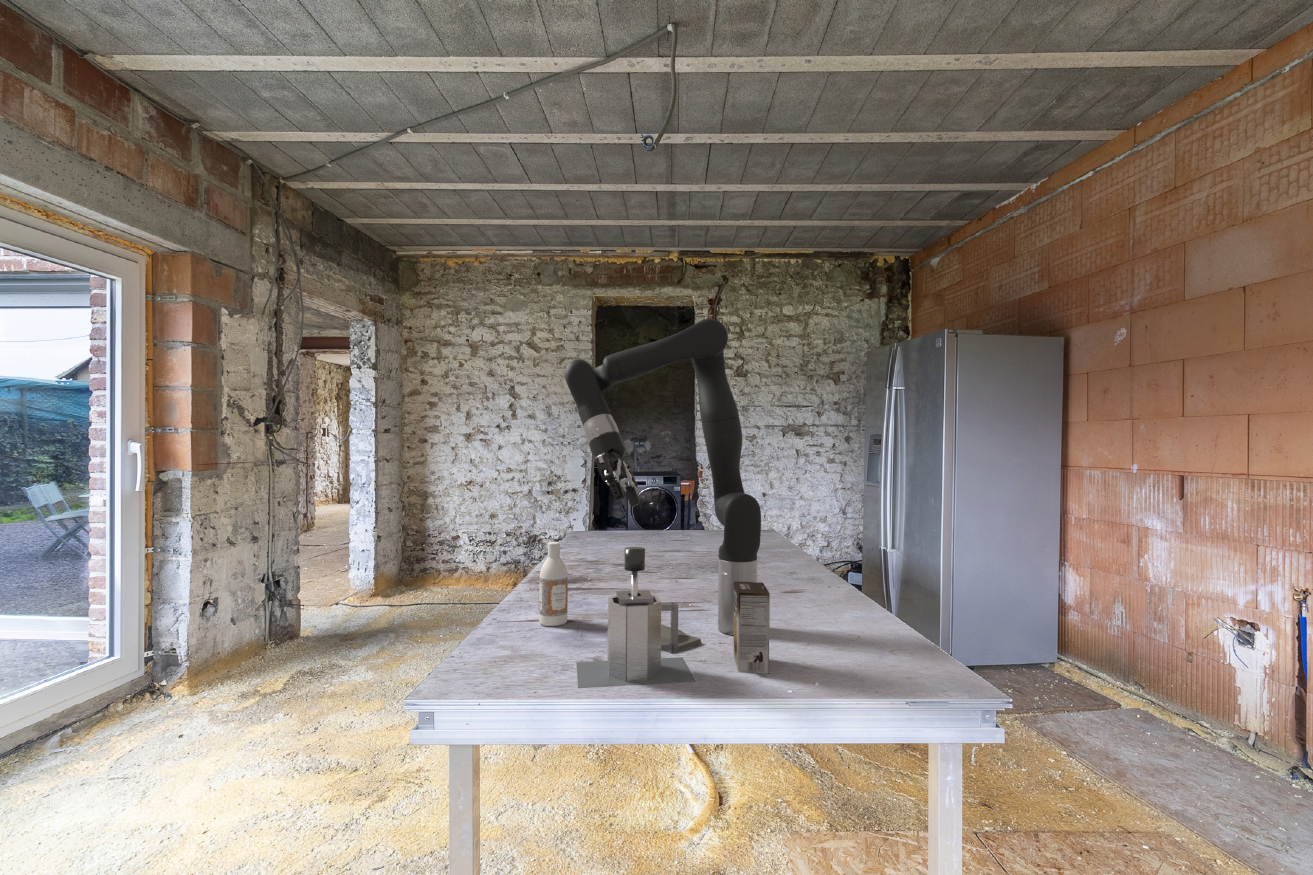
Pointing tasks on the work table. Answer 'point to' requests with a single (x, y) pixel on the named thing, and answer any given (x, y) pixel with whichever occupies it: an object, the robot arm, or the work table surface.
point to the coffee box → (751, 627)
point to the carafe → (638, 635)
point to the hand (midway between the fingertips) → (628, 502)
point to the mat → (599, 677)
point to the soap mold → (679, 639)
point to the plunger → (634, 566)
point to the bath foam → (553, 589)
